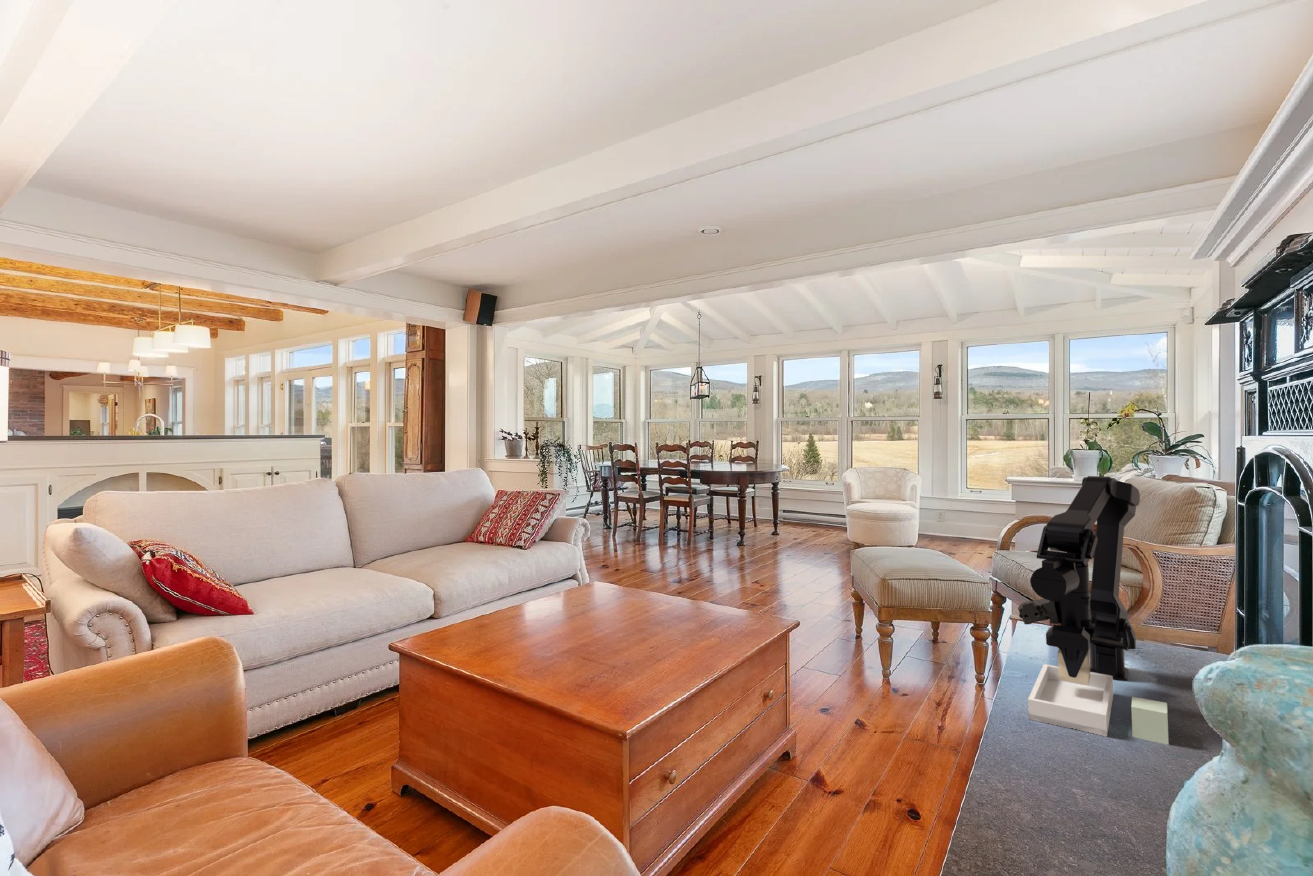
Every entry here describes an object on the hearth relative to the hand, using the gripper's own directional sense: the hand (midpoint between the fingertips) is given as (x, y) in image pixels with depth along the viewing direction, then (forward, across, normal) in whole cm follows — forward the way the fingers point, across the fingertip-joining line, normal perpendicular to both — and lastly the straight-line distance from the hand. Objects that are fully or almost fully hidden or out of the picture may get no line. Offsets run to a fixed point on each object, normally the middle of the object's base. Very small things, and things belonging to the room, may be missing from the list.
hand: (1074, 672), depth 114 cm
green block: (+5, +9, +11) cm, 15 cm away
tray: (+5, +4, 0) cm, 6 cm away
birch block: (+1, 0, 0) cm, 1 cm away
